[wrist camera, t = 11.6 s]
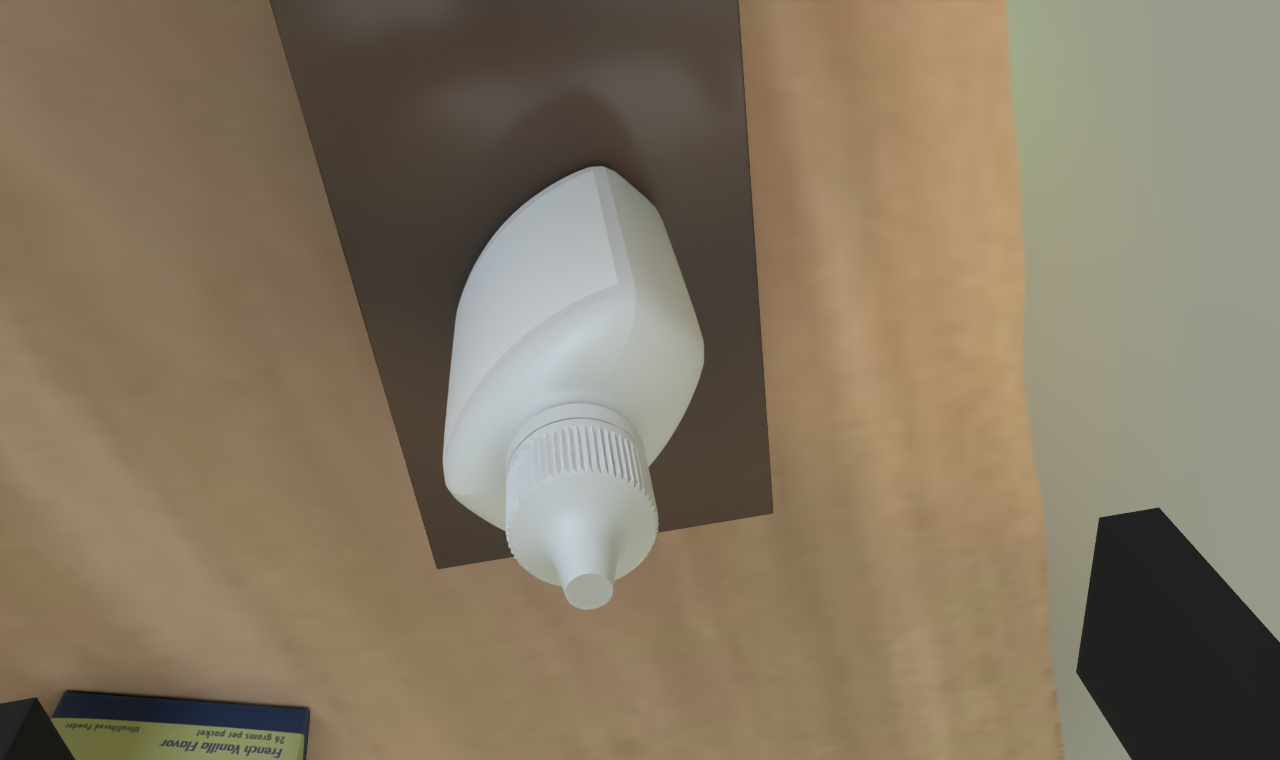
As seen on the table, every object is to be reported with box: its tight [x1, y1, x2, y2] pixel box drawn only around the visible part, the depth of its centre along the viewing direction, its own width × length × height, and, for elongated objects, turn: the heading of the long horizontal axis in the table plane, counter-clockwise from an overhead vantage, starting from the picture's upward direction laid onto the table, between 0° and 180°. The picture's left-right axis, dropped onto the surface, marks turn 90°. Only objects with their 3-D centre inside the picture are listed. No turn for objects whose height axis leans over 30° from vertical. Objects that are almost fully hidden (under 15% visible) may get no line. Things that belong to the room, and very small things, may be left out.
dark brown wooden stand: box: [269, 0, 773, 569], centre depth 29 cm, size 18×10×10 cm, turn 7°
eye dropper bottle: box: [443, 166, 704, 610], centre depth 20 cm, size 4×6×12 cm
